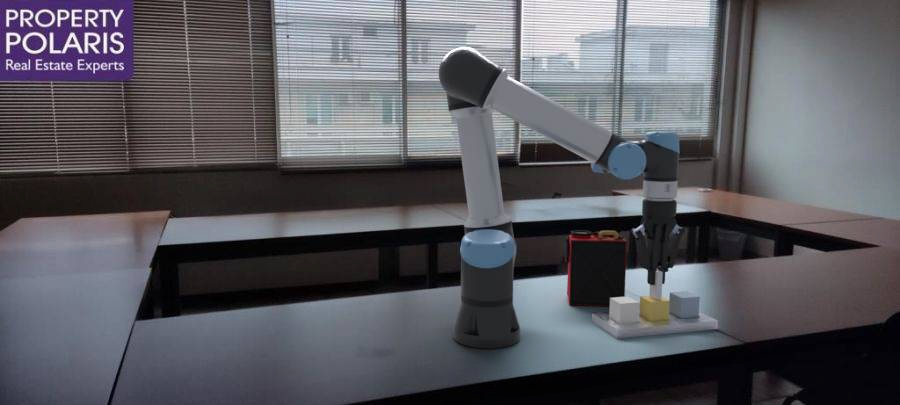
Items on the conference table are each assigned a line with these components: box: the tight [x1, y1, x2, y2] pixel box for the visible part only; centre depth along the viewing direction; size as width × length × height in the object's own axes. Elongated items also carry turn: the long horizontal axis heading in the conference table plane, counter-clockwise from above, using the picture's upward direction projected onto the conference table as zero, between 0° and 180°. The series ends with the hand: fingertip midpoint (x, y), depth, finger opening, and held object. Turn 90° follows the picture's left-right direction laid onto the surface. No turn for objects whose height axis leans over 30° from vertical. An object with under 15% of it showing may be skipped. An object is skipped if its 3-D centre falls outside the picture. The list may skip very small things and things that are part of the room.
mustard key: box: [639, 295, 670, 322], centre depth 142 cm, size 5×5×5 cm
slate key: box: [668, 290, 701, 319], centre depth 144 cm, size 5×5×5 cm
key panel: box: [591, 308, 719, 339], centre depth 142 cm, size 26×12×2 cm, turn 104°
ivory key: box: [608, 296, 640, 324], centre depth 140 cm, size 5×5×5 cm
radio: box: [564, 229, 628, 307], centre depth 160 cm, size 16×10×20 cm, turn 84°
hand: (655, 297), depth 142 cm, fingers closed
